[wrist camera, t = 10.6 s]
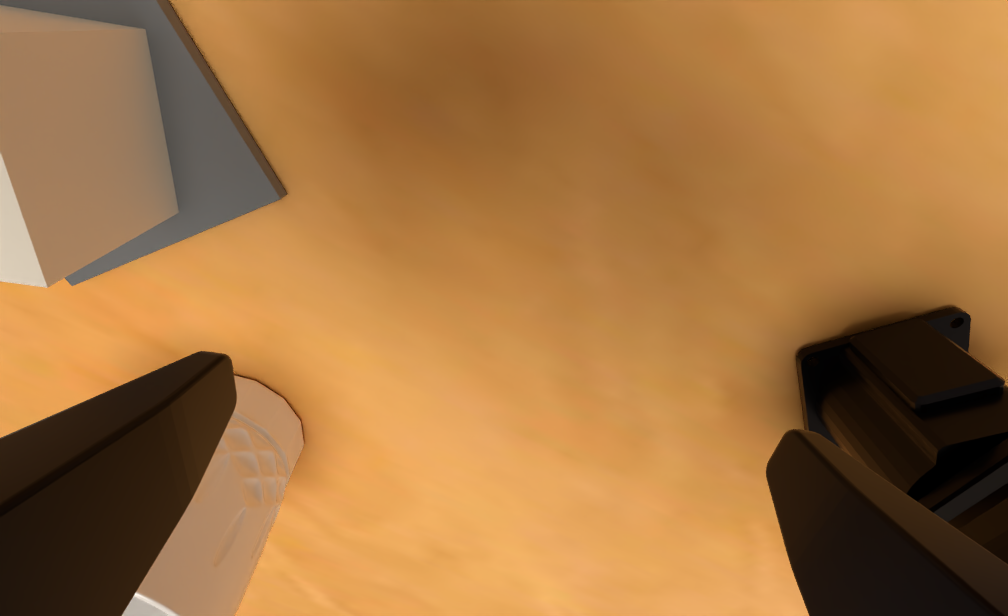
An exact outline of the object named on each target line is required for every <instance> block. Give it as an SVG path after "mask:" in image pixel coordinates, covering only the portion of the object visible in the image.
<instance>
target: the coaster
mask: <svg viewBox="0 0 1008 616" xmlns="http://www.w3.org/2000/svg"><path fill="white" fill-rule="evenodd" d="M0 5H3V6H9V7H15V8H21V9H27V10H33V11H39V12H45V13H51V14H57V15H63V16H69V17H75V18H82V19H88V20H94V21H100V22H106V23H112V24H118V25H124V26H130V27H136V28H142V29H146V35H147V40H148V46H149V51H150V57H151V62H152V68H153V73H154V79H155V84H156V89H157V95H158V100H159V106H160V111H161V117H162V122H163V128H164V133H165V139H166V144H167V150H168V155H169V161H170V166H171V172H172V177H173V183H174V188H175V194H176V199H177V204H178V210H179V213H177V214H175V215H174V216H172V217H170V218H168V219H167V220H165V221H163V222H161V223H160V224H158V225H156V226H154V227H153V228H151V229H149V230H147V231H146V232H144V233H142V234H140V235H139V236H137V237H135V238H133V239H132V240H130V241H128V242H126V243H125V244H123V245H121V246H119V247H118V248H116V249H114V250H112V251H111V252H109V253H107V254H105V255H104V256H102V257H100V258H98V259H97V260H95V261H93V262H91V263H90V264H88V265H86V266H84V267H83V268H81V269H79V270H77V271H76V272H74V273H72V274H70V275H69V276H67V277H65V279H66V280H67V281H68V282H69V283H70V284H71V285H72V286H73V285H76V284H78V283H80V282H83V281H85V280H88V279H90V278H92V277H95V276H97V275H100V274H102V273H104V272H107V271H109V270H112V269H114V268H116V267H119V266H121V265H124V264H126V263H128V262H131V261H133V260H136V259H138V258H140V257H143V256H145V255H148V254H150V253H152V252H155V251H157V250H160V249H162V248H164V247H167V246H169V245H172V244H174V243H176V242H179V241H181V240H184V239H186V238H188V237H191V236H193V235H196V234H198V233H200V232H203V231H205V230H208V229H210V228H212V227H215V226H217V225H220V224H222V223H224V222H227V221H229V220H232V219H234V218H236V217H239V216H241V215H244V214H246V213H248V212H251V211H253V210H256V209H258V208H260V207H263V206H265V205H268V204H270V203H272V202H275V201H277V200H280V199H281V198H283V197H284V196H285V195H287V193H286V192H285V190H284V188H283V187H282V185H281V183H280V182H279V180H278V179H277V177H276V175H275V174H274V172H273V170H272V169H271V167H270V166H269V164H268V162H267V161H266V159H265V157H264V156H263V154H262V153H261V151H260V149H259V148H258V146H257V144H256V143H255V141H254V140H253V138H252V136H251V135H250V133H249V132H248V130H247V128H246V127H245V125H244V123H243V122H242V120H241V119H240V117H239V115H238V114H237V112H236V110H235V109H234V107H233V106H232V104H231V102H230V101H229V99H228V97H227V96H226V94H225V93H224V91H223V89H222V88H221V86H220V84H219V83H218V81H217V80H216V78H215V76H214V75H213V73H212V72H211V70H210V68H209V67H208V65H207V63H206V62H205V60H204V59H203V57H202V55H201V54H200V52H199V50H198V49H197V47H196V46H195V44H194V42H193V41H192V39H191V37H190V36H189V34H188V33H187V31H186V29H185V28H184V26H183V25H182V23H181V21H180V20H179V18H178V16H177V15H176V13H175V12H174V10H173V8H172V7H171V5H170V3H169V2H168V0H0Z"/></svg>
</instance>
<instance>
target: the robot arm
mask: <svg viewBox="0 0 1008 616" xmlns="http://www.w3.org/2000/svg"><path fill="white" fill-rule="evenodd" d="M953 319H955V320H953ZM952 320H953V321H952ZM951 321H952V322H951ZM970 322H971V318H970V315H969V314H968V313H966V312H965V311H963V310H962V309H960V308H956V307H953V308H948V309H944V310H941V311H937V312H933V313H930V314H926V315H923V316H919V317H915V318H912V319H908V320H905V321H901V322H897V323H894V324H890V325H887V326H883V327H879V328H876V329H872V330H868V331H865V332H861V333H858V334H854V335H850V336H847V337H843V338H840V339H836V340H832V341H829V342H825V343H822V344H818V345H814V346H811V347H807V348H805V349H803V350H801V351H800V352H799V353H798V355H797V358H796V362H797V370H798V377H799V385H800V393H801V401H802V408H803V416H804V424H805V430H798V429H791V430H789V431H787V432H786V433H785V434H784V436H783V437H782V439H781V441H780V442H779V444H778V446H777V448H776V449H775V451H774V453H773V454H772V456H771V458H770V459H769V461H768V463H767V467H766V477H767V481H768V485H769V489H770V492H771V496H772V500H773V503H774V507H775V511H776V514H777V518H778V522H779V525H780V529H781V533H782V536H783V540H784V544H785V547H786V551H787V554H788V558H789V561H790V564H791V568H792V570H793V573H794V576H795V579H796V582H797V585H798V587H799V590H800V592H801V595H802V598H803V600H804V603H805V606H806V608H807V611H808V613H809V616H1008V387H1007V386H1006V385H1005V381H1004V379H1003V378H1002V377H1000V376H999V375H997V374H996V373H995V372H993V371H992V370H991V369H989V368H988V367H987V366H985V365H984V364H983V363H981V362H980V361H978V360H977V359H976V358H974V357H973V356H972V355H970V354H969V353H968V348H969V335H970ZM812 357H814V358H813V359H812V360H810V361H808V360H809V359H810V358H812ZM236 402H237V391H236V385H235V378H234V372H233V365H232V361H231V359H230V357H229V356H228V355H226V354H222V353H214V352H207V351H200V352H197V353H194V354H192V355H190V356H187V357H185V358H183V359H180V360H178V361H176V362H174V363H171V364H169V365H167V366H164V367H162V368H160V369H158V370H155V371H153V372H151V373H148V374H146V375H144V376H141V377H139V378H137V379H135V380H132V381H130V382H128V383H125V384H123V385H121V386H119V387H116V388H114V389H112V390H109V391H107V392H105V393H103V394H100V395H98V396H96V397H93V398H91V399H89V400H86V401H84V402H82V403H80V404H77V405H75V406H73V407H70V408H68V409H66V410H63V411H61V412H59V413H57V414H54V415H52V416H50V417H47V418H45V419H43V420H41V421H38V422H36V423H34V424H31V425H29V426H27V427H24V428H22V429H20V430H18V431H15V432H13V433H11V434H8V435H6V436H4V437H2V438H0V616H122V614H123V613H124V611H125V609H126V608H127V606H128V605H129V603H130V601H131V600H132V598H133V596H134V595H135V593H136V591H137V590H138V588H139V586H140V585H141V583H142V582H143V580H144V578H145V577H146V575H147V573H148V572H149V570H150V568H151V567H152V565H153V563H154V562H155V560H156V559H157V557H158V555H159V554H160V552H161V550H162V549H163V547H164V545H165V544H166V542H167V540H168V539H169V537H170V536H171V534H172V532H173V531H174V529H175V527H176V526H177V524H178V522H179V521H180V519H181V517H182V516H183V514H184V512H185V511H186V509H187V507H188V505H189V504H190V502H191V500H192V499H193V497H194V495H195V493H196V491H197V489H198V487H199V485H200V483H201V480H202V478H203V476H204V474H205V472H206V470H207V468H208V466H209V463H210V461H211V459H212V457H213V455H214V453H215V451H216V448H217V446H218V444H219V442H220V440H221V438H222V436H223V434H224V431H225V429H226V427H227V425H228V423H229V421H230V419H231V416H232V414H233V412H234V410H235V407H236Z"/></svg>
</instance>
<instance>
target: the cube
mask: <svg viewBox="0 0 1008 616" xmlns="http://www.w3.org/2000/svg"><path fill="white" fill-rule="evenodd" d="M177 213H179V210H178V204H177V199H176V194H175V188H174V183H173V177H172V172H171V166H170V161H169V155H168V150H167V144H166V139H165V133H164V128H163V122H162V117H161V111H160V106H159V100H158V95H157V89H156V84H155V79H154V73H153V68H152V62H151V57H150V51H149V46H148V40H147V35H146V29H142V28H136V27H130V26H124V25H118V24H112V23H106V22H100V21H94V20H88V19H82V18H75V17H69V16H63V15H57V14H51V13H45V12H39V11H33V10H27V9H21V8H15V7H9V6H3V5H0V281H3V282H10V283H17V284H25V285H32V286H40V287H47V288H48V287H49V286H51V285H53V284H55V283H56V282H58V281H60V280H62V279H63V278H65V277H67V276H69V275H70V274H72V273H74V272H76V271H77V270H79V269H81V268H83V267H84V266H86V265H88V264H90V263H91V262H93V261H95V260H97V259H98V258H100V257H102V256H104V255H105V254H107V253H109V252H111V251H112V250H114V249H116V248H118V247H119V246H121V245H123V244H125V243H126V242H128V241H130V240H132V239H133V238H135V237H137V236H139V235H140V234H142V233H144V232H146V231H147V230H149V229H151V228H153V227H154V226H156V225H158V224H160V223H161V222H163V221H165V220H167V219H168V218H170V217H172V216H174V215H175V214H177Z"/></svg>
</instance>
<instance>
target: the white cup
mask: <svg viewBox="0 0 1008 616" xmlns="http://www.w3.org/2000/svg"><path fill="white" fill-rule="evenodd" d="M234 378H235V385H236V391H237V402H236V407H235V410H234V412H233V414H232V416H231V419H230V421H229V423H228V425H227V427H226V429H225V431H224V434H223V436H222V438H221V440H220V442H219V444H218V446H217V448H216V451H215V453H214V455H213V457H212V459H211V461H210V463H209V466H208V468H207V470H206V472H205V474H204V476H203V478H202V480H201V483H200V485H199V487H198V489H197V491H196V493H195V495H194V497H193V499H192V500H191V502H190V504H189V505H188V507H187V509H186V511H185V512H184V514H183V516H182V517H181V519H180V521H179V522H178V524H177V526H176V527H175V529H174V531H173V532H172V534H171V536H170V537H169V539H168V540H167V542H166V544H165V545H164V547H163V549H162V550H161V552H160V554H159V555H158V557H157V559H156V560H155V562H154V563H153V565H152V567H151V568H150V570H149V572H148V573H147V575H146V577H145V578H144V580H143V582H142V583H141V585H140V586H139V588H138V590H137V591H136V593H135V595H134V596H133V598H132V600H131V601H130V603H129V605H128V606H127V608H126V609H125V611H124V613H123V614H122V616H235V615H236V613H237V611H238V608H239V606H240V604H241V601H242V599H243V597H244V594H245V592H246V590H247V587H248V585H249V583H250V580H251V578H252V576H253V573H254V571H255V569H256V566H257V564H258V562H259V559H260V557H261V555H262V552H263V550H264V547H265V544H266V541H267V538H268V536H269V533H270V531H271V529H272V527H273V524H274V522H275V520H276V517H277V514H278V512H279V509H280V506H281V503H282V502H283V499H284V492H285V488H286V486H287V484H288V481H289V479H290V476H291V474H292V472H293V469H294V467H295V465H296V463H297V460H298V458H299V456H300V454H301V451H302V449H303V446H304V439H303V433H302V426H301V421H300V419H299V418H298V417H297V415H296V414H295V413H294V411H293V410H292V409H291V407H290V406H289V405H288V403H287V402H286V401H285V399H284V398H282V397H281V396H279V395H278V394H276V393H274V392H273V391H271V390H270V389H268V388H266V387H265V386H263V385H262V384H260V383H258V382H257V381H254V380H251V379H247V378H243V377H239V376H235V375H234Z"/></svg>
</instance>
